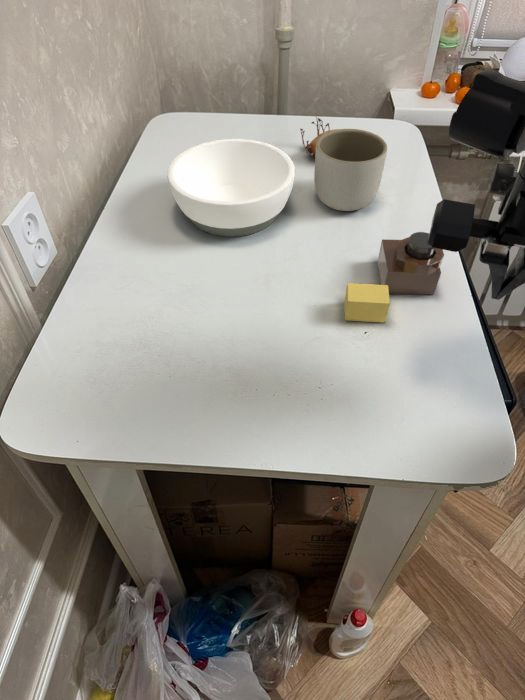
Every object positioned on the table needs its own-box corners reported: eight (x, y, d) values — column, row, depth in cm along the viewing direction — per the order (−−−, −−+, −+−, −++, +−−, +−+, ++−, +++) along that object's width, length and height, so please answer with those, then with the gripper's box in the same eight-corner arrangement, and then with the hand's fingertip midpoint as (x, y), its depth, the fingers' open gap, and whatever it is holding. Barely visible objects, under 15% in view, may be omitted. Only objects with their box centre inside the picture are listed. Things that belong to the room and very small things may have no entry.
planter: (356, 176, 102) (363, 123, 93) (389, 208, 94) (401, 153, 86) (301, 190, 98) (304, 136, 90) (331, 224, 91) (337, 169, 83)
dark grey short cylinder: (435, 261, 75) (439, 248, 73) (408, 260, 75) (411, 248, 73) (430, 244, 77) (434, 232, 75) (404, 244, 77) (407, 231, 76)
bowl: (220, 167, 105) (216, 127, 98) (314, 198, 97) (317, 157, 90) (148, 221, 92) (140, 179, 86) (250, 262, 84) (249, 219, 78)
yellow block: (383, 304, 77) (388, 284, 74) (385, 322, 75) (390, 303, 72) (344, 302, 78) (347, 282, 75) (344, 320, 75) (347, 301, 72)
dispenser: (436, 298, 78) (447, 265, 73) (383, 296, 78) (391, 264, 74) (426, 262, 84) (436, 229, 79) (377, 261, 84) (384, 228, 79)
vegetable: (370, 122, 111) (380, 90, 101) (379, 167, 108) (390, 138, 98) (299, 131, 110) (302, 99, 100) (306, 176, 108) (310, 148, 98)
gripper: (648, 151, 50) (576, 271, 62) (457, 125, 55) (424, 241, 66) (666, 212, 44) (581, 333, 55) (447, 176, 48) (411, 296, 60)
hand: (494, 296), depth 59 cm, fingers closed
